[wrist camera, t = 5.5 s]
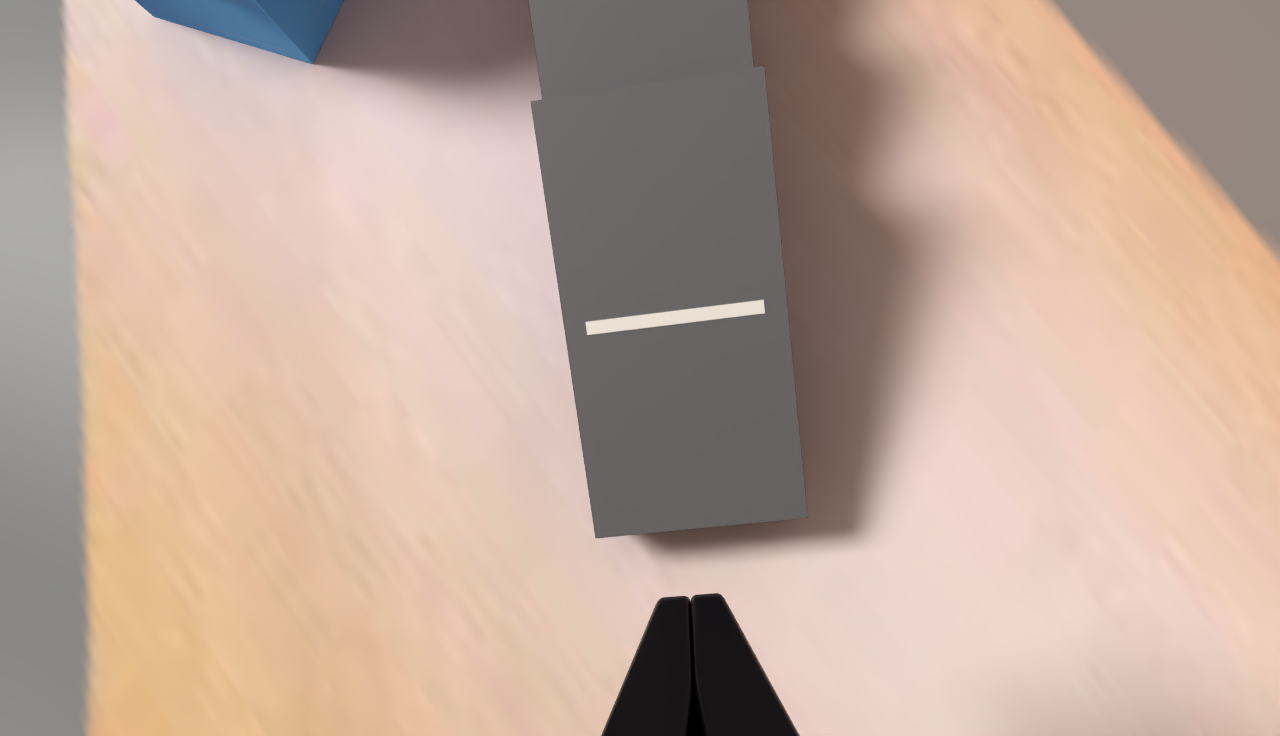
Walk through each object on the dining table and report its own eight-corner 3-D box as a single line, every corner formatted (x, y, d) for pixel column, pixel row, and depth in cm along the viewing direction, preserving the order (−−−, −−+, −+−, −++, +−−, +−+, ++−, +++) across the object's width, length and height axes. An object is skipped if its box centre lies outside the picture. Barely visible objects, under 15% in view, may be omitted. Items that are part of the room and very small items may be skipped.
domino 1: (775, 322, 17) (737, -127, 15) (576, 344, 17) (515, -89, 15) (767, 315, 18) (732, -91, 17) (585, 336, 19) (531, -57, 17)
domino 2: (807, 518, 16) (764, 65, 14) (595, 538, 16) (530, 101, 15) (796, 493, 17) (756, 84, 16) (603, 512, 18) (545, 116, 16)
